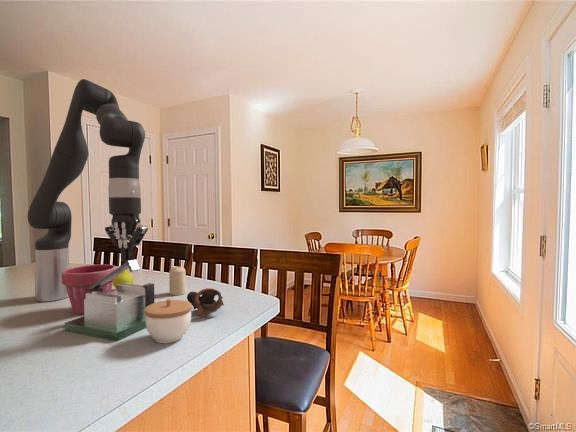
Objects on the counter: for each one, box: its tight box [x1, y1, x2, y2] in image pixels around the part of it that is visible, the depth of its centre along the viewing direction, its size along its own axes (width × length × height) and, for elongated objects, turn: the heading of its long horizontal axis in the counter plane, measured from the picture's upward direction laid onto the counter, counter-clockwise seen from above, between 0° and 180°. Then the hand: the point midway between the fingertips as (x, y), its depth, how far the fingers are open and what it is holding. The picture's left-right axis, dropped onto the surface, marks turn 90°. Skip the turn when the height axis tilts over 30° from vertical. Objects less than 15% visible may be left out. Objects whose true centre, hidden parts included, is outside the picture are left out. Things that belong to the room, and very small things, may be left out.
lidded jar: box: [145, 298, 193, 344], centre depth 77 cm, size 11×11×9 cm
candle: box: [168, 265, 187, 296], centre depth 115 cm, size 6×6×10 cm
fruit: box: [112, 262, 134, 290], centre depth 119 cm, size 7×7×12 cm
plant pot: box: [62, 263, 117, 315], centre depth 97 cm, size 14×14×13 cm
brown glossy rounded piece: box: [186, 287, 225, 319], centre depth 95 cm, size 12×10×8 cm
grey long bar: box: [89, 259, 141, 290], centre depth 85 cm, size 16×3×3 cm, turn 70°
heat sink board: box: [64, 282, 155, 342], centre depth 85 cm, size 18×16×11 cm
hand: (127, 262), depth 84 cm, fingers closed
